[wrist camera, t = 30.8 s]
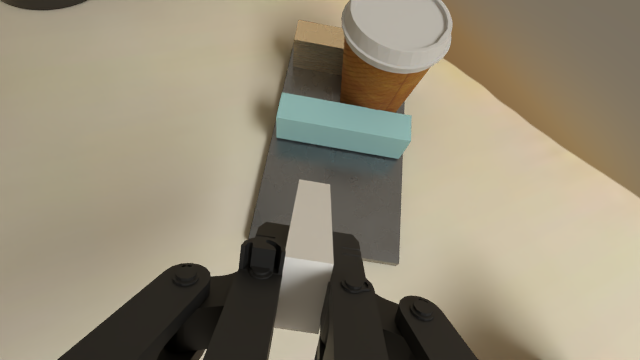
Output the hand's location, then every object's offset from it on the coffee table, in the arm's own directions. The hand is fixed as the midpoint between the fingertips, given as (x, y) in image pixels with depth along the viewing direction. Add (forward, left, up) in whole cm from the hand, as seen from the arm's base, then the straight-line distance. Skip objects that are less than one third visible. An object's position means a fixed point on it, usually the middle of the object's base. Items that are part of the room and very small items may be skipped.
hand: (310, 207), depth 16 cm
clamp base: (-11, +9, -16) cm, 22 cm away
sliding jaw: (-11, +9, -15) cm, 20 cm away
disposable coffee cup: (-14, +14, -15) cm, 25 cm away
